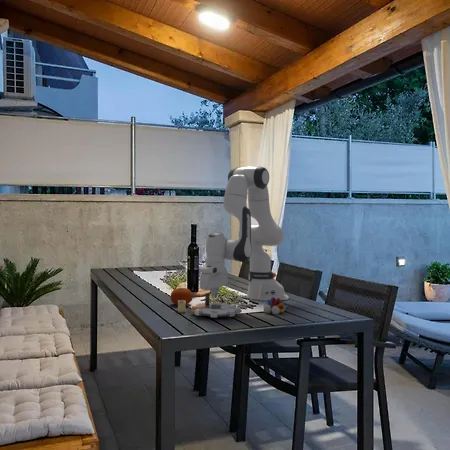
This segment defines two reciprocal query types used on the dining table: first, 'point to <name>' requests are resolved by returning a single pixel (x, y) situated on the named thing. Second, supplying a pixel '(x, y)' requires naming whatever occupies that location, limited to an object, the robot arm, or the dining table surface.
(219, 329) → the dining table surface
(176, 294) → the fruit
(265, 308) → the multicoloured rounded cluster
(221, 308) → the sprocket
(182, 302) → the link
